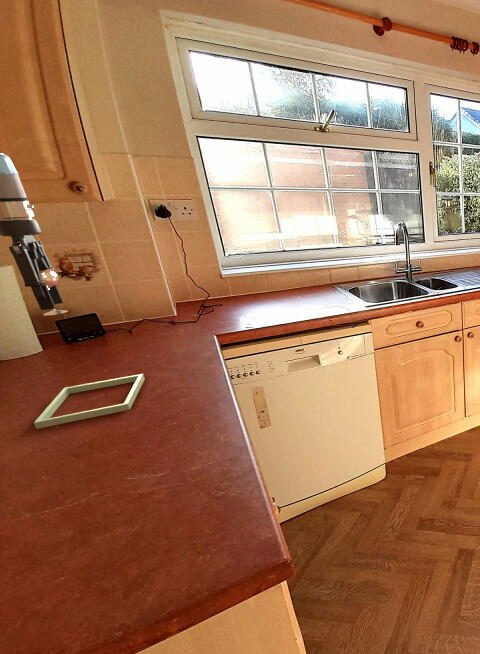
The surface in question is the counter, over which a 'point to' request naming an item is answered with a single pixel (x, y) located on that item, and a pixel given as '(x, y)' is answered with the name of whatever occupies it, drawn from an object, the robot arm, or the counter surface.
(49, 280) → the wineglass
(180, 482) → the counter surface
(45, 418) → the green rectangular frame
